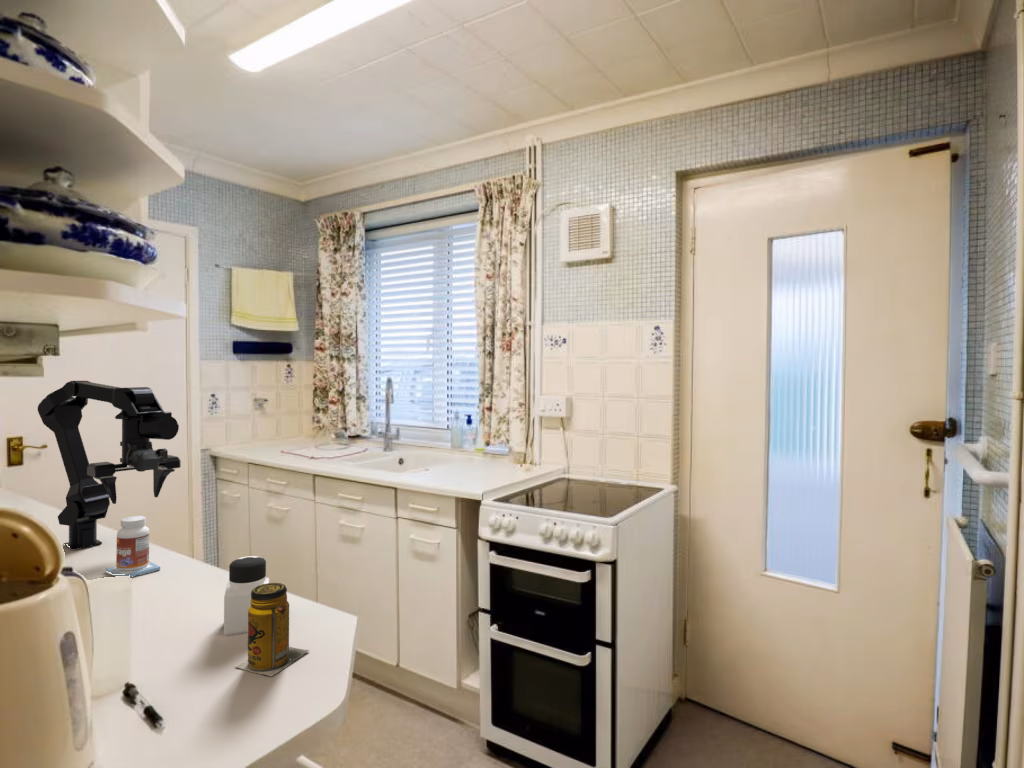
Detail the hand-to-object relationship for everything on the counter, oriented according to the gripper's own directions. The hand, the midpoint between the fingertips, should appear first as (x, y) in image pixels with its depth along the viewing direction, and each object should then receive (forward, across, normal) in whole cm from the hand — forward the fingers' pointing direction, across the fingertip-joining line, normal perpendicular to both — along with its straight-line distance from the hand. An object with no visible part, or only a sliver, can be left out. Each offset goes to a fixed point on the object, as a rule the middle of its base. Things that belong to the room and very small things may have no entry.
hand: (135, 500), depth 140 cm
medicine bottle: (+13, -4, -59) cm, 61 cm away
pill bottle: (+12, -6, -14) cm, 19 cm away
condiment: (+13, -8, -74) cm, 76 cm away
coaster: (+13, -6, -14) cm, 20 cm away
